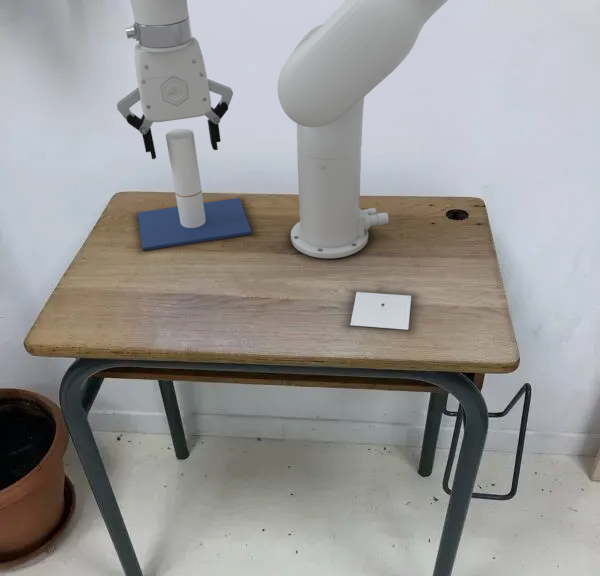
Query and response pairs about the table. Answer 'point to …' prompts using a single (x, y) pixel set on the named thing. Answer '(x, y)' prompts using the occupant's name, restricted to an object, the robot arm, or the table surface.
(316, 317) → the table surface
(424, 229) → the table surface
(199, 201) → the tube
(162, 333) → the table surface
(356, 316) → the white piece
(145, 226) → the cloth mat
